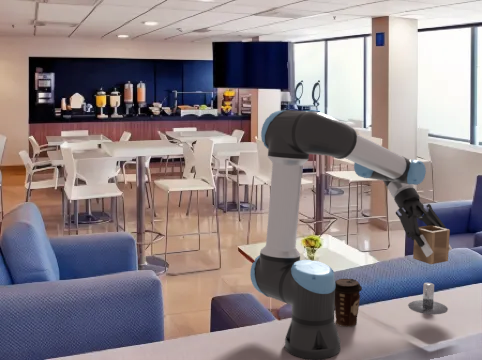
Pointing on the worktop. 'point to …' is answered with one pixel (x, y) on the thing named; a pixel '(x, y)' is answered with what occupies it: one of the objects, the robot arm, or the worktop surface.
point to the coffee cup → (347, 301)
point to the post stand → (428, 302)
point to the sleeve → (433, 244)
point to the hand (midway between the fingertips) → (439, 252)
